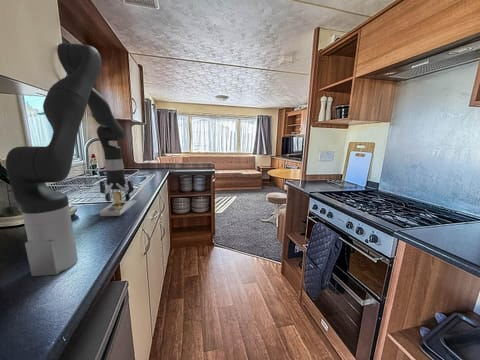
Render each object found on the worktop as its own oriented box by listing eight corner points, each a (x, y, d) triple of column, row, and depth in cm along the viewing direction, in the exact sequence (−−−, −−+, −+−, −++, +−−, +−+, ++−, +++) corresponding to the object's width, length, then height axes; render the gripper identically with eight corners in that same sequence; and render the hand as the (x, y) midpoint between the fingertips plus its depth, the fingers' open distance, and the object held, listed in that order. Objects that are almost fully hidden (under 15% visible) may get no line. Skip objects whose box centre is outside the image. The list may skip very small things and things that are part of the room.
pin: (121, 210, 102) (119, 192, 100) (113, 210, 101) (111, 192, 99) (124, 207, 105) (122, 190, 103) (117, 207, 105) (115, 190, 103)
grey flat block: (120, 215, 95) (119, 209, 94) (100, 216, 94) (99, 209, 93) (136, 202, 114) (135, 196, 114) (120, 202, 113) (119, 197, 113)
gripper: (94, 169, 95) (98, 203, 98) (127, 169, 96) (130, 203, 100) (102, 167, 102) (106, 199, 105) (133, 167, 103) (136, 198, 107)
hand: (118, 201), depth 102 cm, fingers open, 8 cm apart
